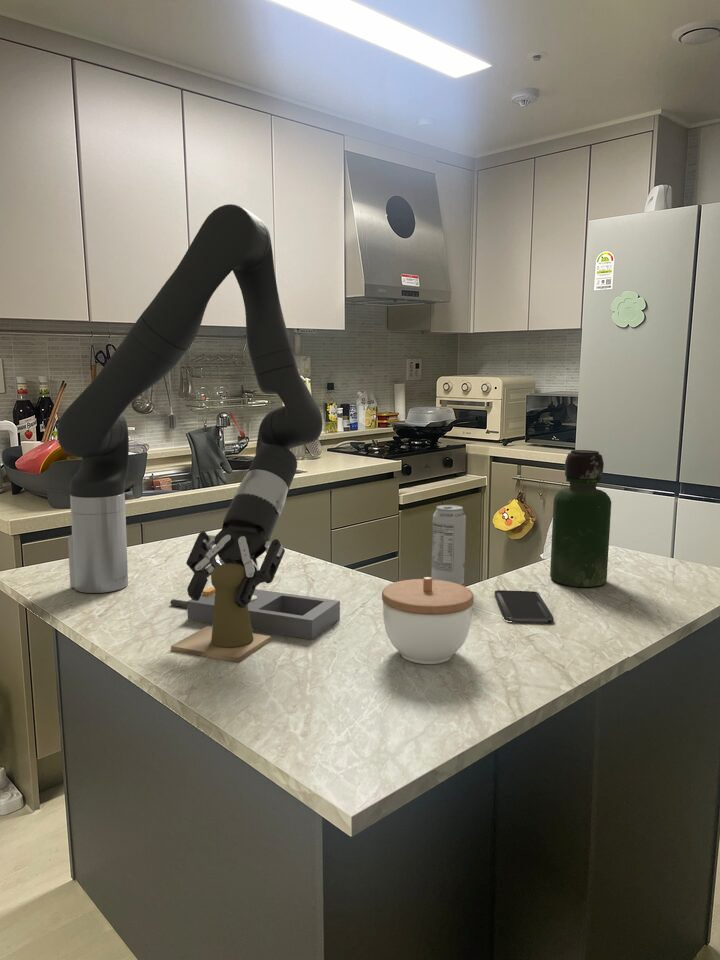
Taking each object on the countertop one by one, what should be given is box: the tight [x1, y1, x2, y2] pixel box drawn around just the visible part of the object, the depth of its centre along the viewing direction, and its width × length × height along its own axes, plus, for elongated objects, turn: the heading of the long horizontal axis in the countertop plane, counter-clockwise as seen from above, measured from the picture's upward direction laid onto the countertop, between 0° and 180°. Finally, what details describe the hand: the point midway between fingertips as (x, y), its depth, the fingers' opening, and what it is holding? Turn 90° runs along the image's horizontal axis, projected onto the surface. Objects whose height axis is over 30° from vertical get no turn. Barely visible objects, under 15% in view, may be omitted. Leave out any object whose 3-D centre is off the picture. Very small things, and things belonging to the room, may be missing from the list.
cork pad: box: [170, 625, 272, 663], centre depth 102 cm, size 11×9×1 cm
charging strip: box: [169, 586, 341, 641], centre depth 114 cm, size 29×10×4 cm, turn 68°
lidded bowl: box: [381, 576, 475, 665], centre depth 99 cm, size 13×13×11 cm
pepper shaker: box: [210, 564, 254, 647], centre depth 102 cm, size 6×6×11 cm
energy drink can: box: [430, 504, 467, 586], centre depth 131 cm, size 6×6×15 cm
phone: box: [493, 589, 555, 625], centre depth 120 cm, size 8×1×15 cm
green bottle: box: [549, 449, 612, 588], centre depth 135 cm, size 10×10×25 cm
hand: (215, 601), depth 100 cm, fingers open, 7 cm apart
